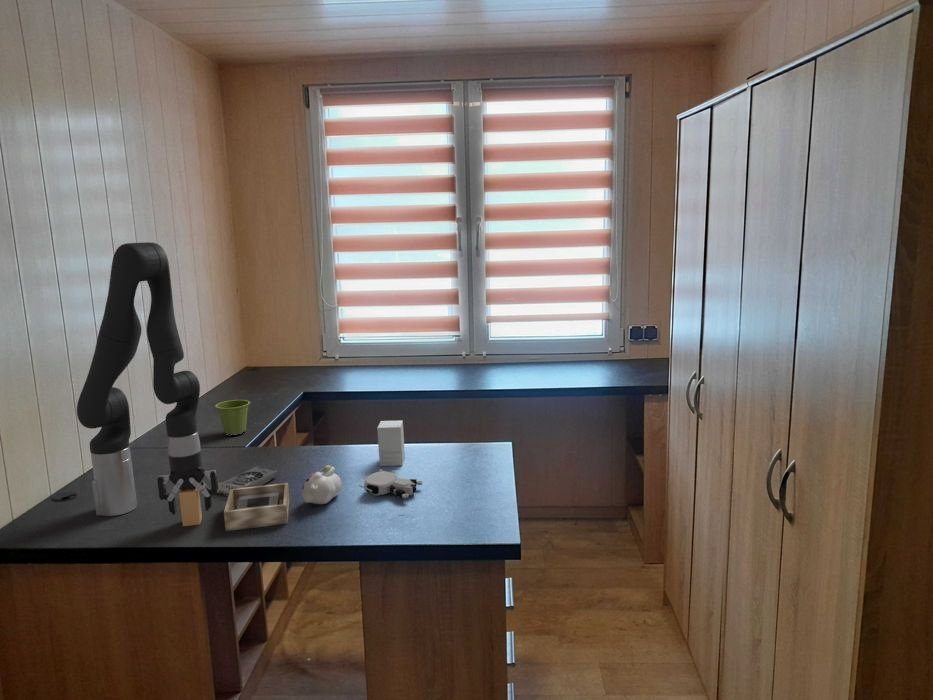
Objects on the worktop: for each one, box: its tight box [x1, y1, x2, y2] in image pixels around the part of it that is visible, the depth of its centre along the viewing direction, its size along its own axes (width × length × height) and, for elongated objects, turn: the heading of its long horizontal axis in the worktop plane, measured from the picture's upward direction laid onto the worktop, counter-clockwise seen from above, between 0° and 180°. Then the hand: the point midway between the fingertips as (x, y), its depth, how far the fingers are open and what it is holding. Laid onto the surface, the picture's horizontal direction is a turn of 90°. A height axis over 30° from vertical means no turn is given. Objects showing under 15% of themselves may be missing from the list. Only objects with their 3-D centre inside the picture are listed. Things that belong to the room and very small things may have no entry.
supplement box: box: [376, 420, 406, 467], centre depth 209 cm, size 7×7×13 cm
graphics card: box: [216, 466, 278, 497], centre depth 194 cm, size 17×4×12 cm
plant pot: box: [214, 399, 251, 434], centre depth 242 cm, size 12×12×11 cm
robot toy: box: [358, 469, 423, 499], centre depth 186 cm, size 12×4×15 cm
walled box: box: [223, 482, 290, 532], centre depth 174 cm, size 15×15×5 cm
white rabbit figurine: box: [301, 464, 343, 505], centre depth 182 cm, size 10×8×15 cm
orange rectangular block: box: [178, 488, 203, 527], centre depth 171 cm, size 4×4×9 cm
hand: (191, 511), depth 171 cm, fingers open, 7 cm apart
